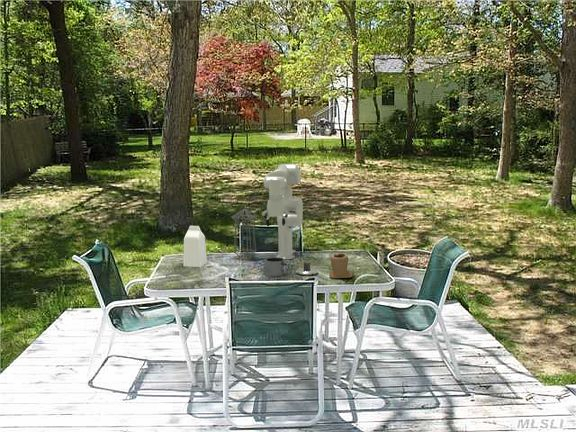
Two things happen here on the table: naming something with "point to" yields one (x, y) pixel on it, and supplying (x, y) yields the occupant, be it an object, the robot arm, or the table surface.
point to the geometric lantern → (242, 232)
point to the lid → (306, 270)
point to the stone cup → (340, 266)
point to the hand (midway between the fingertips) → (275, 225)
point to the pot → (274, 266)
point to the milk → (194, 248)
